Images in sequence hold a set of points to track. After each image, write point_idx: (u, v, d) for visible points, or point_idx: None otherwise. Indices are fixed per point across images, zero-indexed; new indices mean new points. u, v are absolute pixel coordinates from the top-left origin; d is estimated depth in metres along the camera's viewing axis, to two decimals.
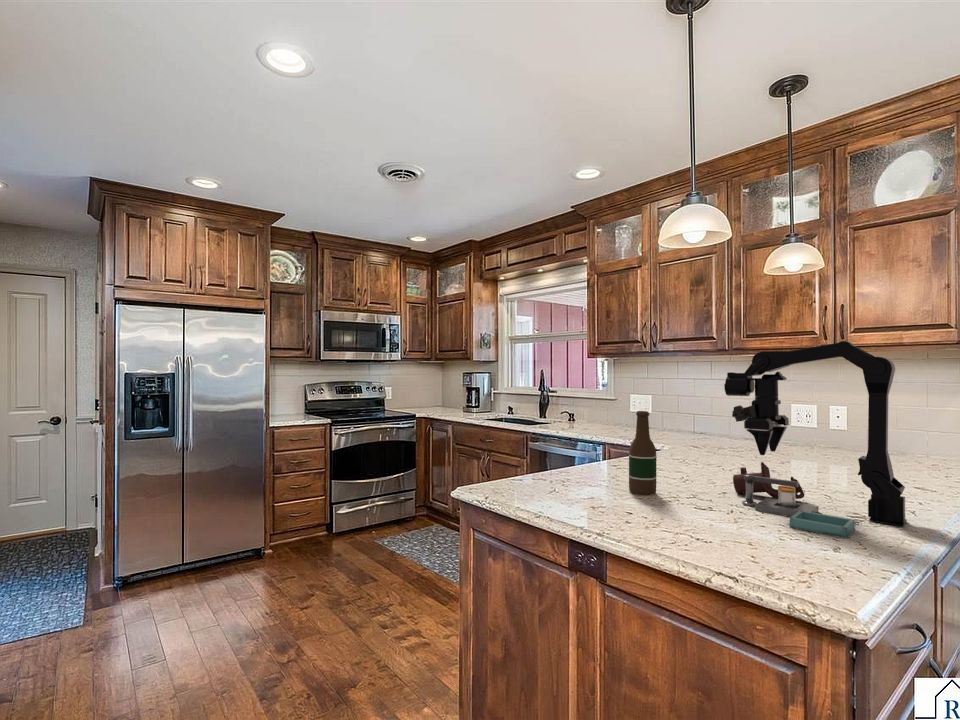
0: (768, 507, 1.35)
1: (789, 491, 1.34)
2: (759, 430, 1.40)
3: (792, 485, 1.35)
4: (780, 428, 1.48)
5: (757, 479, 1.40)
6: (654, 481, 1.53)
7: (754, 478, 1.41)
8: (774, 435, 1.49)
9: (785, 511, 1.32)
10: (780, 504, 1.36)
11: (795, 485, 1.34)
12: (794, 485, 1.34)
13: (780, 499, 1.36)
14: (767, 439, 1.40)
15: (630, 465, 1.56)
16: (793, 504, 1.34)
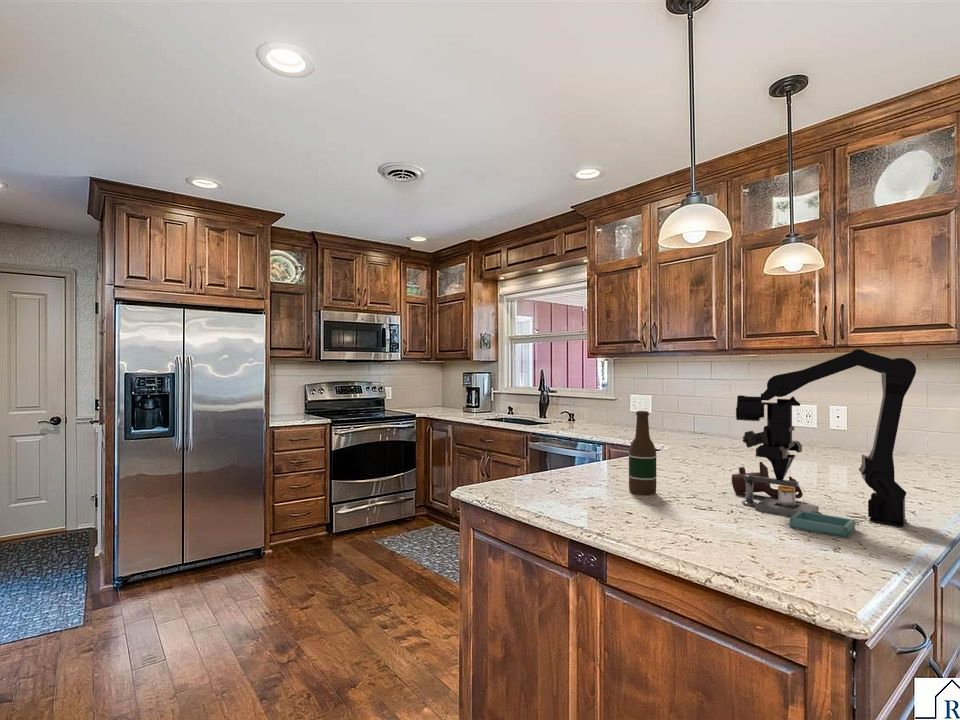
0: (768, 507, 1.35)
1: (789, 491, 1.34)
2: None
3: (792, 485, 1.35)
4: (788, 457, 1.38)
5: (757, 479, 1.40)
6: (654, 481, 1.53)
7: (754, 478, 1.41)
8: None
9: (785, 511, 1.32)
10: (780, 504, 1.36)
11: (795, 485, 1.34)
12: (794, 485, 1.34)
13: (780, 499, 1.36)
14: (785, 466, 1.36)
15: (630, 465, 1.56)
16: (793, 504, 1.34)
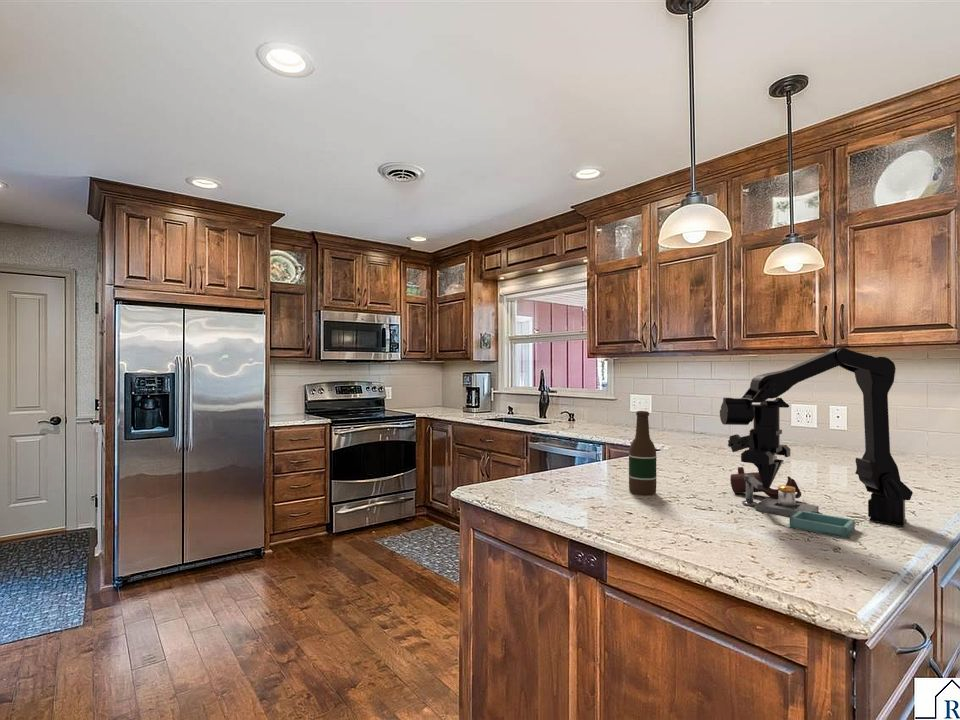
0: (768, 507, 1.35)
1: (789, 491, 1.34)
2: None
3: (756, 487, 1.33)
4: None
5: (748, 479, 1.41)
6: (654, 481, 1.53)
7: (747, 478, 1.41)
8: None
9: (785, 511, 1.32)
10: (780, 504, 1.36)
11: (756, 487, 1.32)
12: (756, 487, 1.32)
13: (780, 499, 1.36)
14: (772, 472, 1.28)
15: (630, 465, 1.56)
16: (793, 504, 1.34)
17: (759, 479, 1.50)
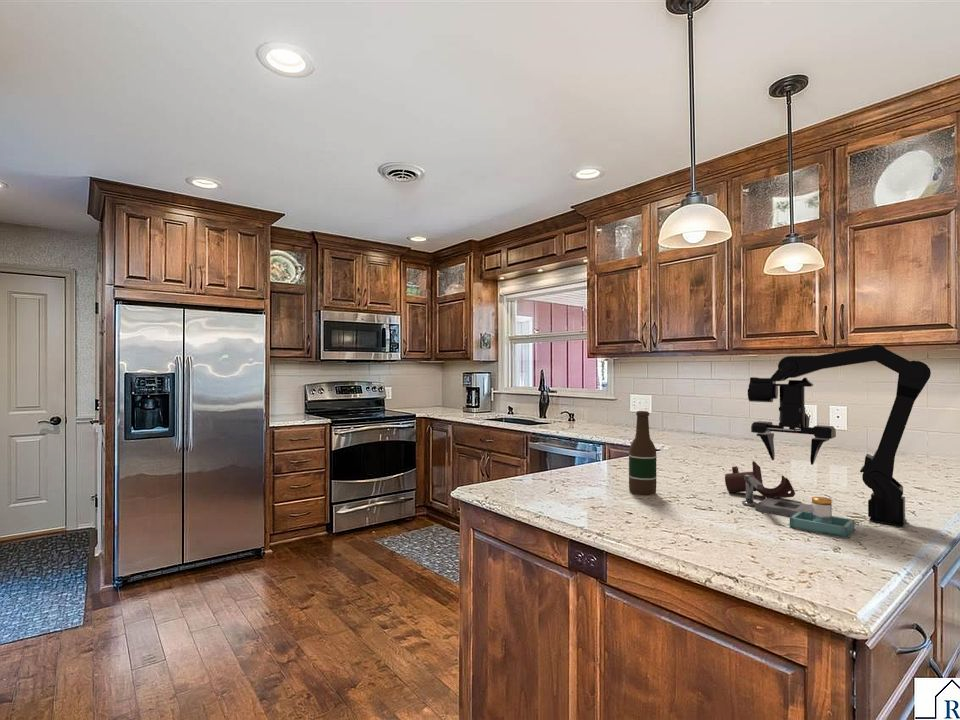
0: (768, 507, 1.35)
1: (825, 503, 1.19)
2: None
3: (756, 487, 1.33)
4: None
5: (748, 479, 1.41)
6: (654, 481, 1.53)
7: (747, 478, 1.41)
8: None
9: (785, 511, 1.32)
10: (814, 518, 1.21)
11: (756, 487, 1.32)
12: (756, 487, 1.32)
13: (814, 512, 1.21)
14: None
15: (630, 465, 1.56)
16: (829, 518, 1.19)
17: None
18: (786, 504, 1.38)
